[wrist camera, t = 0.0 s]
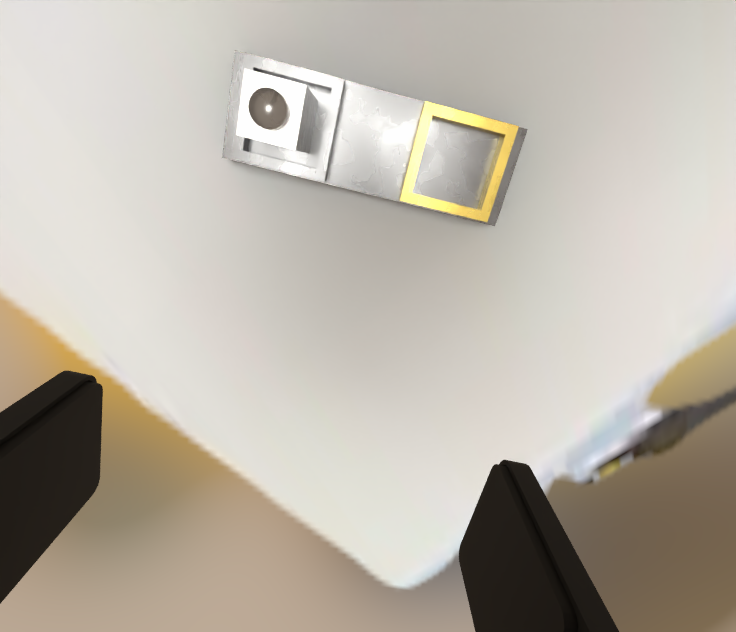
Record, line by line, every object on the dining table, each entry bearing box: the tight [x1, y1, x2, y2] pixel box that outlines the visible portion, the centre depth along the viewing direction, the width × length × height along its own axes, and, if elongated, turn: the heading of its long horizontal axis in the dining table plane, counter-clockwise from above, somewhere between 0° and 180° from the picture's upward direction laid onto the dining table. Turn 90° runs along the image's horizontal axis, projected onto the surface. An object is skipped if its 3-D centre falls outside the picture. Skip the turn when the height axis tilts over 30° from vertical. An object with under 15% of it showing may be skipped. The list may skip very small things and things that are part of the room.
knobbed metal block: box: [236, 69, 318, 154], centre depth 30 cm, size 4×4×8 cm
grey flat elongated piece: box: [222, 50, 527, 226], centre depth 35 cm, size 8×24×4 cm, turn 76°
